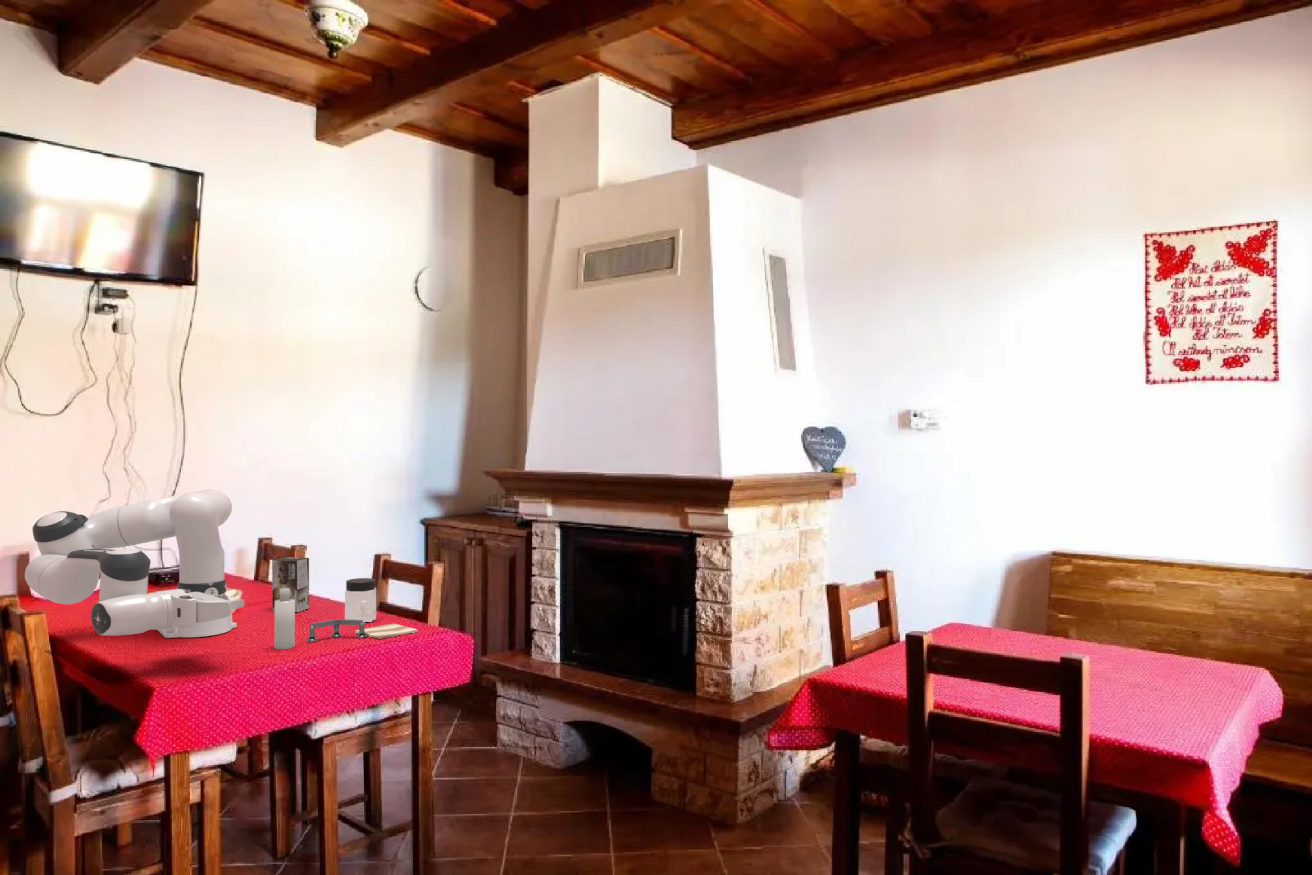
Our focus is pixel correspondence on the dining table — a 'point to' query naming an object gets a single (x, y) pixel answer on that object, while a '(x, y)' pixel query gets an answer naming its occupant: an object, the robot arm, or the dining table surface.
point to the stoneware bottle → (284, 620)
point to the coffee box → (291, 580)
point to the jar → (360, 599)
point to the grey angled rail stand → (336, 628)
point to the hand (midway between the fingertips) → (234, 600)
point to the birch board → (387, 631)
